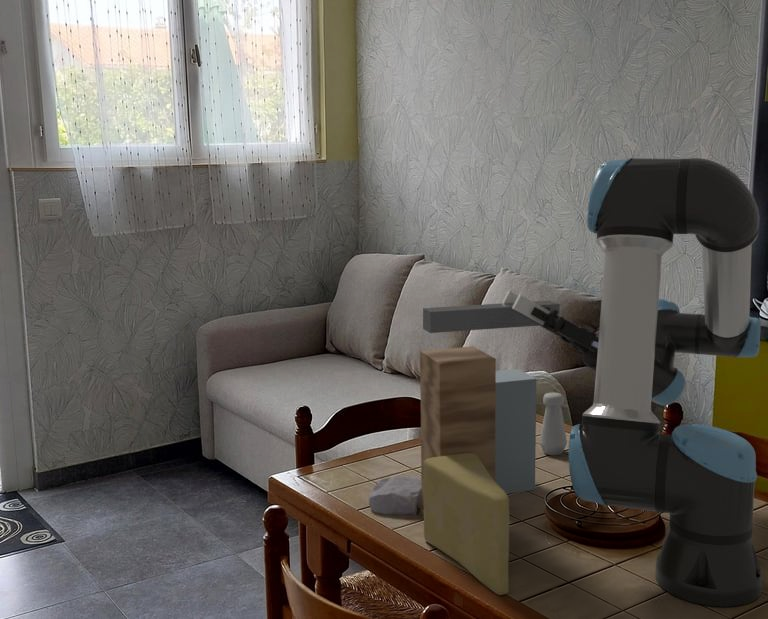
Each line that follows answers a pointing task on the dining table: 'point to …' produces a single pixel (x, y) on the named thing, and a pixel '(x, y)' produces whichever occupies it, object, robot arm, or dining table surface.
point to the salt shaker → (553, 425)
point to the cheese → (468, 517)
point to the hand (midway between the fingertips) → (511, 299)
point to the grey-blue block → (515, 431)
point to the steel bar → (479, 317)
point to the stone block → (397, 495)
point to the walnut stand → (457, 405)
